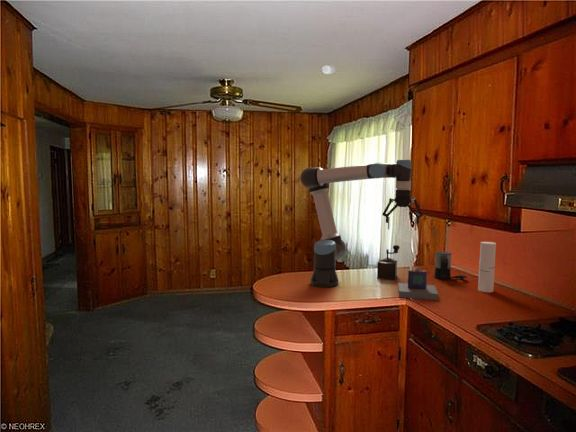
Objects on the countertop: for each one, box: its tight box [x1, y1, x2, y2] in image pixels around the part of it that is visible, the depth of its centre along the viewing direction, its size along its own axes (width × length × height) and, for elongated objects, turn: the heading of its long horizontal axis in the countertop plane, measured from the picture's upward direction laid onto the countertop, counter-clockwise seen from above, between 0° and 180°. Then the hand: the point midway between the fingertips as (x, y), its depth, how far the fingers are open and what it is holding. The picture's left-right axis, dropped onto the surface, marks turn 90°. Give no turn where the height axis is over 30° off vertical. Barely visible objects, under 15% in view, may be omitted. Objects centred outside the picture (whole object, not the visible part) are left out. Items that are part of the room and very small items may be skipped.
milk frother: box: [433, 251, 468, 280], centre depth 232 cm, size 14×16×15 cm
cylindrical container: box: [477, 241, 497, 293], centre depth 208 cm, size 7×7×25 cm
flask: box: [407, 266, 428, 289], centre depth 202 cm, size 9×3×11 cm, turn 88°
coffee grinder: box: [376, 244, 401, 281], centre depth 237 cm, size 16×11×18 cm
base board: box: [397, 282, 439, 301], centre depth 203 cm, size 18×15×3 cm
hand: (401, 229), depth 213 cm, fingers open, 13 cm apart
